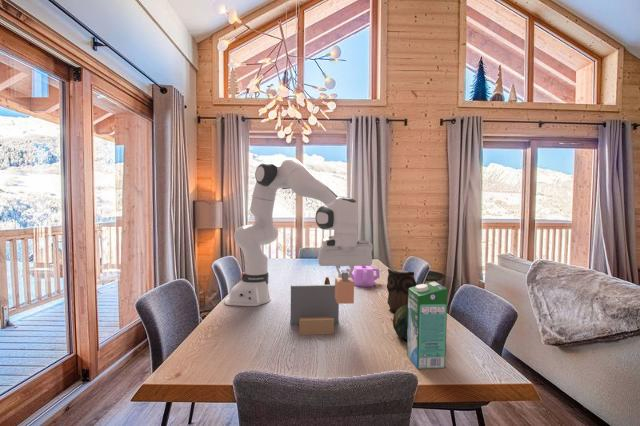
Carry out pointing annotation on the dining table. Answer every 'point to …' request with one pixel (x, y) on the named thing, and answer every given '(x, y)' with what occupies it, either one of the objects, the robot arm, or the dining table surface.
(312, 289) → the board
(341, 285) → the tall peach box
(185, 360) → the dining table surface
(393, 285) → the owl
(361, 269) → the teakettle
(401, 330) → the squash
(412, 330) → the milk carton
